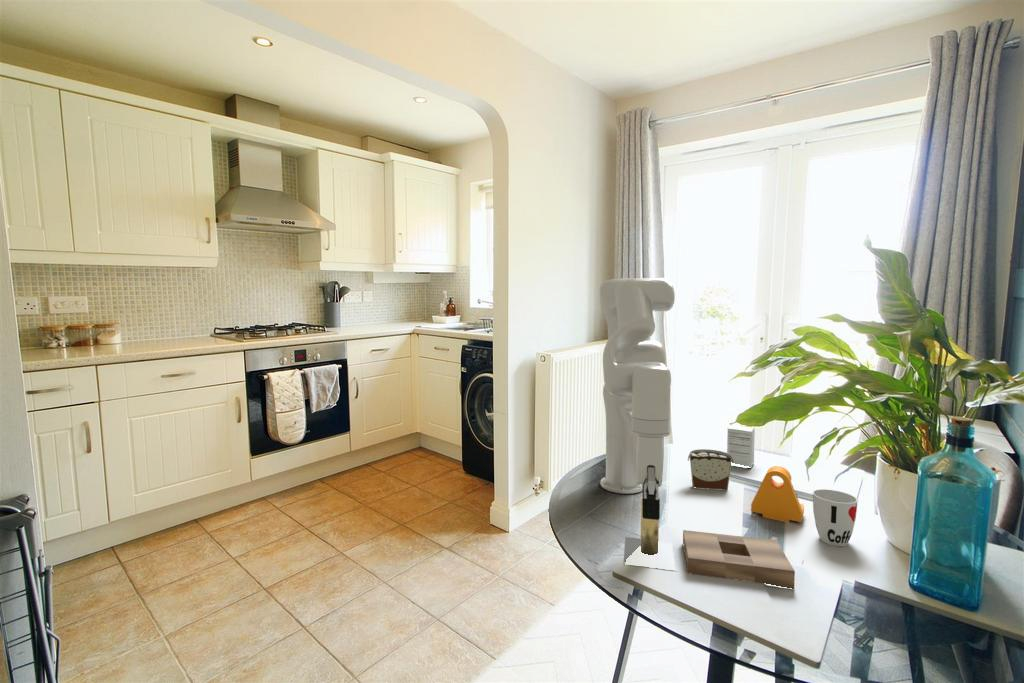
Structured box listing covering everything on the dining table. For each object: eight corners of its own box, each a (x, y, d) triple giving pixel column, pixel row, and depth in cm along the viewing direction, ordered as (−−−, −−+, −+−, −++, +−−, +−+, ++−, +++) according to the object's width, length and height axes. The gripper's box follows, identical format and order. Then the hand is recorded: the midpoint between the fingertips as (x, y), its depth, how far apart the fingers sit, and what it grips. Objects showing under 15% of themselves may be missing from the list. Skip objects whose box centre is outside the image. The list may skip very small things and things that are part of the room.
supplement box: (730, 460, 160) (731, 423, 160) (754, 463, 156) (755, 426, 155) (726, 465, 154) (726, 427, 154) (751, 469, 150) (752, 431, 149)
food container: (727, 483, 139) (727, 449, 138) (733, 490, 132) (734, 455, 132) (683, 480, 141) (684, 447, 140) (687, 488, 135) (688, 453, 134)
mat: (625, 539, 104) (625, 536, 104) (673, 544, 101) (673, 542, 101) (623, 567, 92) (623, 564, 92) (677, 574, 90) (677, 571, 90)
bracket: (803, 514, 116) (805, 467, 116) (801, 525, 110) (802, 475, 110) (755, 504, 123) (756, 459, 122) (751, 514, 117) (752, 467, 116)
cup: (825, 549, 99) (826, 503, 98) (803, 531, 107) (804, 488, 107) (865, 550, 99) (866, 503, 98) (840, 532, 107) (841, 489, 106)
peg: (640, 547, 99) (641, 496, 98) (658, 550, 98) (658, 498, 97) (640, 556, 96) (641, 503, 95) (658, 558, 95) (659, 505, 94)
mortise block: (682, 545, 101) (683, 530, 101) (775, 556, 96) (776, 540, 96) (688, 575, 89) (688, 557, 89) (794, 589, 84) (794, 571, 84)
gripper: (632, 417, 105) (632, 493, 105) (630, 434, 88) (630, 524, 88) (668, 419, 103) (667, 496, 103) (673, 436, 86) (672, 528, 86)
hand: (650, 509), depth 96 cm, fingers open, 9 cm apart
